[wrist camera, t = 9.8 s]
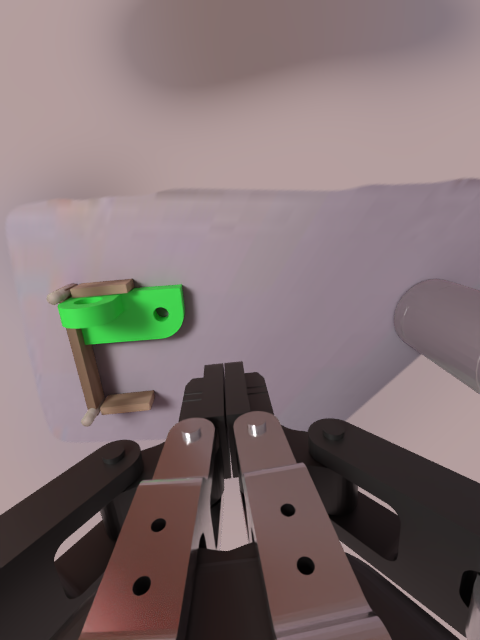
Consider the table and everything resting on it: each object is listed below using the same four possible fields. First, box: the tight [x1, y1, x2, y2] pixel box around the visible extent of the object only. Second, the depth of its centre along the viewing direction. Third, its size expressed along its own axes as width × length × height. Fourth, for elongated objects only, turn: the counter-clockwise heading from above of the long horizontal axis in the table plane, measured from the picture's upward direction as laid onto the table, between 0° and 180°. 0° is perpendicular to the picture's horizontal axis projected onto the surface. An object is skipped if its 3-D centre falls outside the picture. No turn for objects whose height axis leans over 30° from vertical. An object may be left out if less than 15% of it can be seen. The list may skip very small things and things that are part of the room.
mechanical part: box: [58, 285, 185, 345], centre depth 36 cm, size 12×6×8 cm, turn 94°
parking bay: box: [47, 279, 155, 427], centre depth 38 cm, size 8×16×5 cm, turn 5°
